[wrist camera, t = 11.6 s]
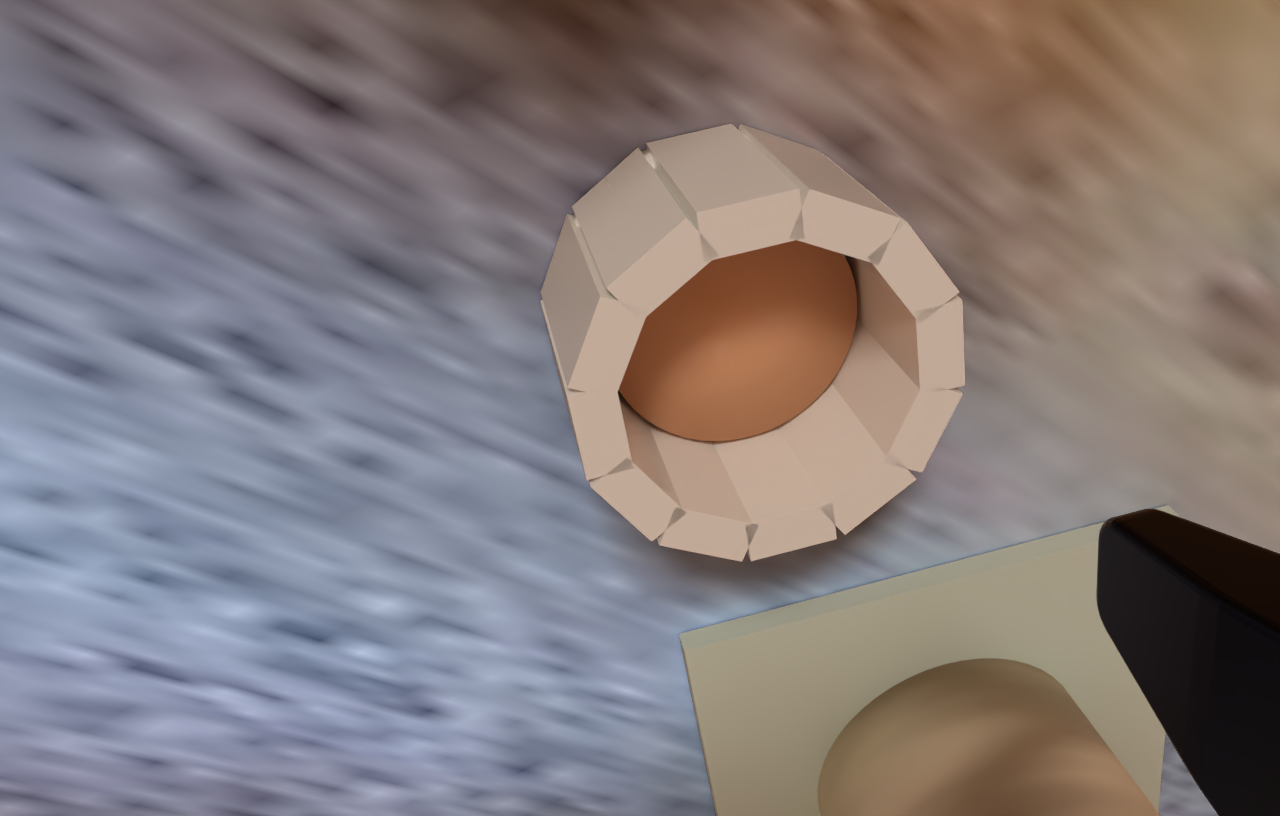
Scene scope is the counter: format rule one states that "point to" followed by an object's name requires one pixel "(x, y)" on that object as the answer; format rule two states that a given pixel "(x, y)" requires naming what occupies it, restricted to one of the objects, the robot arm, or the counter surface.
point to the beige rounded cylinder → (976, 750)
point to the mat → (904, 665)
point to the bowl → (748, 344)
